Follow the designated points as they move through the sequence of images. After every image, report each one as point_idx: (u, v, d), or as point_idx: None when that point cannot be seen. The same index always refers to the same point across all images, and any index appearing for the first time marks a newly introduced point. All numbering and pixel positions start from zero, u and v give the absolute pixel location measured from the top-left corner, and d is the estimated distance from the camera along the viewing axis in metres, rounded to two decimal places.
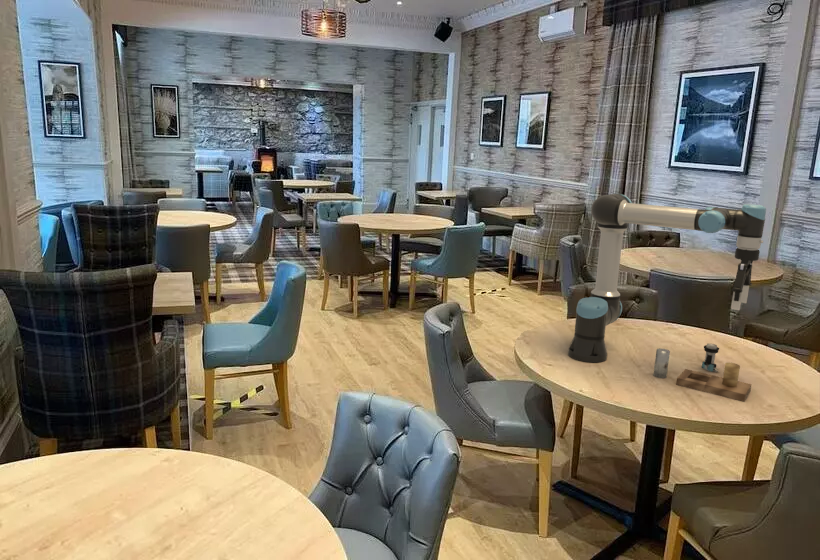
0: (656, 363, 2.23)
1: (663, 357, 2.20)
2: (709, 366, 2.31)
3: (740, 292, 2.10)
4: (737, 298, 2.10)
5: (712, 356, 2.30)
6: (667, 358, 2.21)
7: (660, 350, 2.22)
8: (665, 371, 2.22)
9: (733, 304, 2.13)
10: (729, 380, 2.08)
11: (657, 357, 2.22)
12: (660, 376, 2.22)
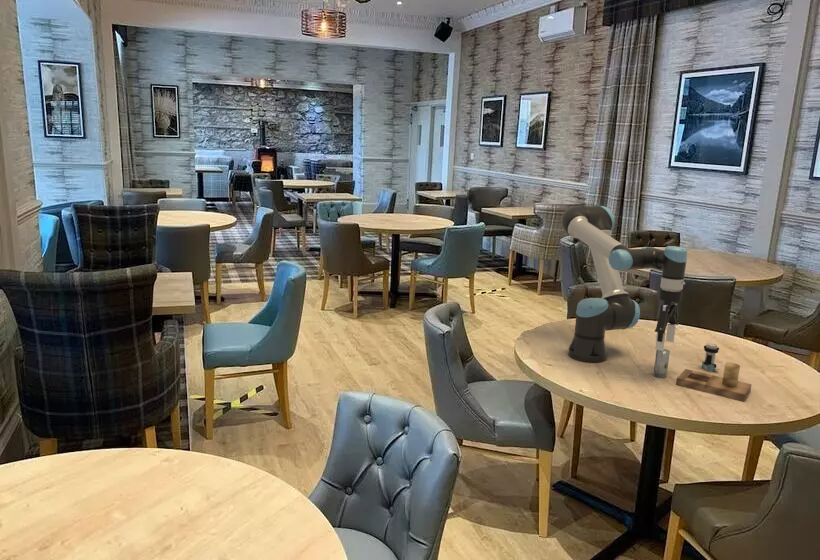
0: (656, 363, 2.23)
1: (663, 357, 2.20)
2: (709, 366, 2.31)
3: (663, 333, 2.13)
4: (660, 339, 2.14)
5: (712, 356, 2.30)
6: (667, 358, 2.21)
7: (660, 350, 2.22)
8: (665, 371, 2.22)
9: (657, 344, 2.16)
10: (729, 380, 2.08)
11: (657, 357, 2.22)
12: (660, 376, 2.22)
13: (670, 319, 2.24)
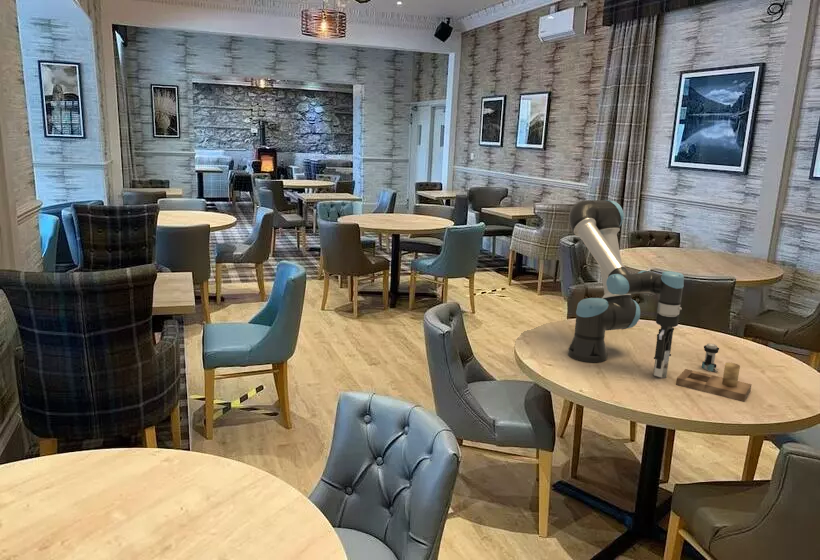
0: None
1: None
2: (709, 366, 2.31)
3: (662, 360, 2.19)
4: (659, 366, 2.20)
5: (712, 356, 2.30)
6: (667, 358, 2.21)
7: None
8: (665, 371, 2.22)
9: (656, 371, 2.22)
10: (729, 380, 2.08)
11: None
12: None
13: None
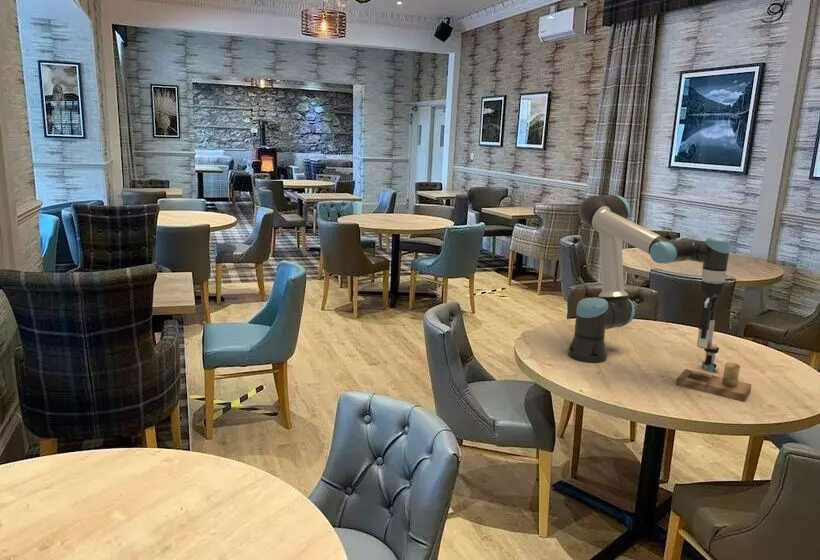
0: None
1: None
2: (709, 366, 2.31)
3: (707, 330, 2.09)
4: (704, 336, 2.10)
5: (712, 356, 2.30)
6: (712, 328, 2.10)
7: None
8: (710, 341, 2.11)
9: (700, 341, 2.12)
10: (729, 380, 2.08)
11: None
12: None
13: None
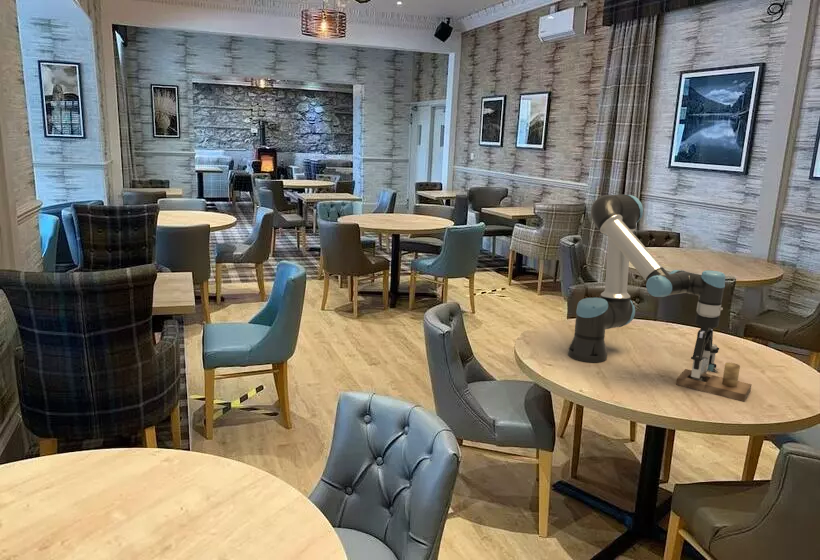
0: None
1: (702, 365, 2.13)
2: (709, 366, 2.31)
3: (700, 360, 2.09)
4: (697, 366, 2.09)
5: (712, 356, 2.30)
6: (706, 366, 2.14)
7: None
8: (704, 379, 2.15)
9: (693, 372, 2.11)
10: (729, 380, 2.08)
11: None
12: None
13: (705, 345, 2.19)
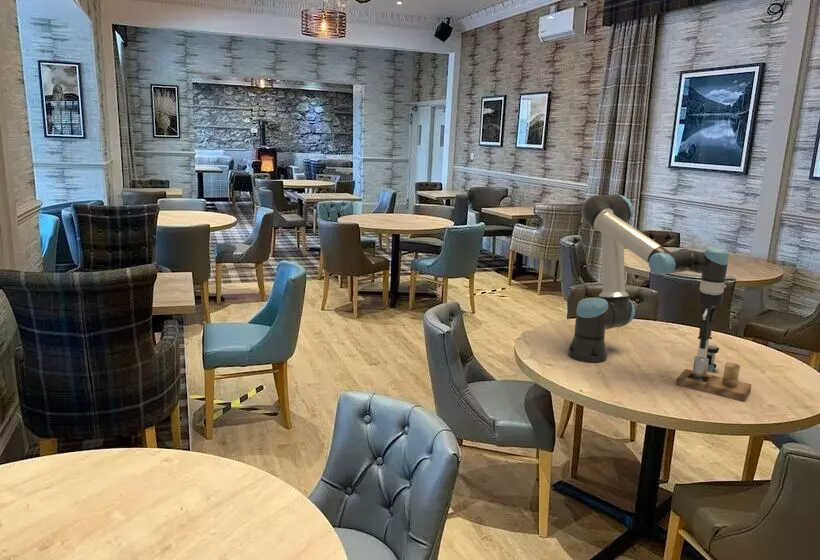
0: (694, 371, 2.16)
1: (702, 365, 2.13)
2: (709, 366, 2.31)
3: (706, 340, 2.12)
4: (703, 346, 2.12)
5: (712, 356, 2.30)
6: (706, 366, 2.14)
7: (698, 358, 2.15)
8: (704, 379, 2.15)
9: (699, 351, 2.14)
10: (729, 380, 2.08)
11: (695, 365, 2.15)
12: None
13: None
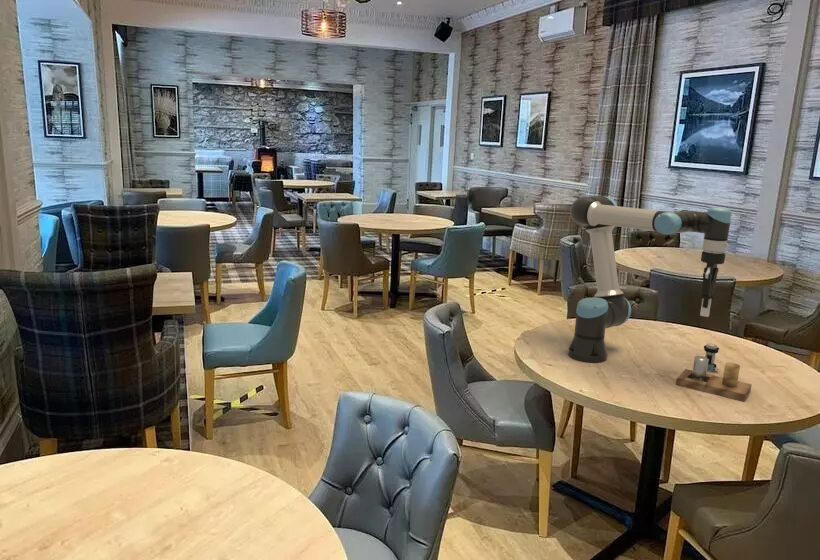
0: (694, 371, 2.16)
1: (702, 365, 2.13)
2: (709, 366, 2.31)
3: (709, 299, 2.14)
4: (706, 305, 2.14)
5: (712, 356, 2.30)
6: (706, 366, 2.14)
7: (698, 358, 2.15)
8: (704, 379, 2.15)
9: (702, 311, 2.16)
10: (729, 380, 2.08)
11: (695, 365, 2.15)
12: None
13: None
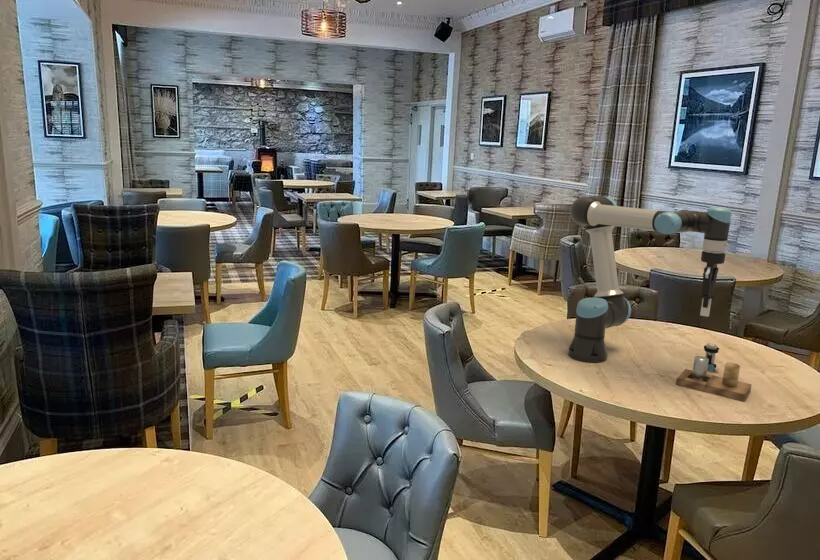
0: (694, 371, 2.16)
1: (702, 365, 2.13)
2: (709, 366, 2.31)
3: (709, 298, 2.14)
4: (706, 305, 2.14)
5: (712, 356, 2.30)
6: (706, 366, 2.14)
7: (698, 358, 2.15)
8: (704, 379, 2.15)
9: (702, 310, 2.17)
10: (729, 380, 2.08)
11: (695, 365, 2.15)
12: None
13: None
